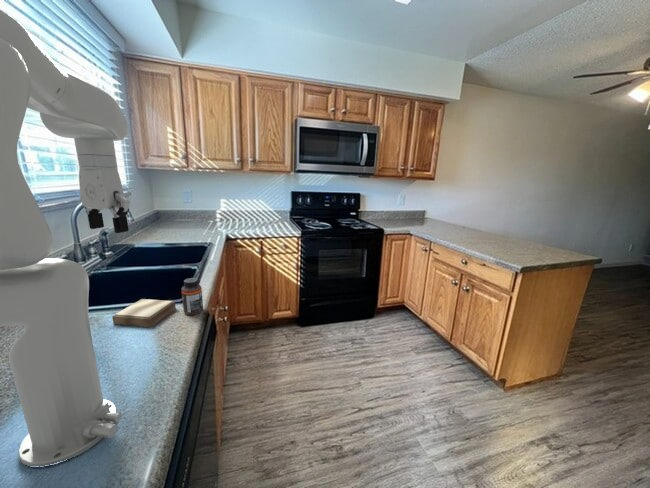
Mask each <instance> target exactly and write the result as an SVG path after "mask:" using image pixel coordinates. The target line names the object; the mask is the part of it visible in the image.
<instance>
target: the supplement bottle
mask: <svg viewBox="0 0 650 488" xmlns="http://www.w3.org/2000/svg"><path fill="white" fill-rule="evenodd" d="M202 290H203V289H202V286H201V285H200V284H199V280H198V278H195V277H190V278H186V279H184V280H183V286H182V287H181V300H182V309H183V313H184V314H185V315H188V316H194V315H197V314H200V313H202V312H203V310H204V303H203V302H204V300H203V293H202V292H203V291H202Z"/></svg>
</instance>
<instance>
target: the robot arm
mask: <svg viewBox="0 0 650 488" xmlns="http://www.w3.org/2000/svg"><path fill="white" fill-rule="evenodd" d="M27 109H30V110H32V111H35V112H38V113H39V116H40V120H41V122H42V124H43V125H44V126H45V128H46V129H47V130H48V131H50V132H51V133H52V134H54V135H56V136H59V137H61V138H67V139H73V140H74V145H75V146H74V147H75V150H76V151H75V152H76V157H77V162H78V166H79V167H78V169H79V170H78V181H79V183H78V184H79V192H80V193H79V195H80V196H79V197H80V200H81V203H82V204H81V205H82V206H83V208H84V209H85V214H87V220H88V221H87V222H88V226H89V229H91V230H95V229H102V228H104V227H105V224H104V218H103V213H102V212H101V210H102V211H107V210H109V211H110V212H111V214H112V215H113V217H112V219H111V220H112V225H113V230H114V231H113V232H114V233H115V234H120V233H126V232H129V223H128V218H127V217H128V216H129V211H130V204H131V202H130V201H131V200H129V199H128V198H127V197H125V196H124V195H125V194H124V188H123V185H122V180H121V178H120V177H121V176H120V173H119V171H118V170H119V169H118V163H117V157H116V156H117V155H116V148H115V141H116V142H117V141H118V142H120V141H123V140H124V139H125V138H126V136H127V134H128V133H129V131H128V130H129V126H128V121H127V118H126V116H125V113H124V111H123V110H122V108H121V107H120V105H119V104H118V102H117V101H116V100H115V98H114V97H113V96H112V95H111V94H110V93H108V92H107V91H105V90H104V89H102V88H100V87H98V86H96V85H95V84H92V83H90V82H88V81H86V80H84V79H82V78H80V77H78V76H76V75H73V74H71V73H70V72H68V71H65V70H63V69H61V68H60V66H59V65H58V64H57V63H56V62H55V61H54V60H53V59H52V58H51V56H50V55H49V54H48V53H47V52H46V51H45V49H44V48H43V47H42V46H41V45H40V44H39V43H38V42H37V40H36V39H35V38H34V37H33V36H32V34H31V33H29V31H28V30H27V29H26V28H25V27H24V26H23V25H22V24H21V23H20V22H19V21H18V20H17V19H15V18H14V17H12V15H10V14H8V12H5V11H4V10H2V9H0V327H13V326H23V327H24V331H23V332H22V333H21V334H20V336H18V338H17V339H16V340H15V341H14V343H13V344H12V346H11V348H10V349H9V353H8V362H9V366H10V370H11V373H12V376H13V379H14V380H13V381H14V383H15V384H14V385H15V388H16V391H17V395H18V399H19V403H20V405H21V406H20V407H21V409H22V414H23V417H24V420H25V423H26V427H27V428H26V429H27V430H28V433H27V434H26V436H25V437H24V438H23V439H22V441H21V443H20V445H19V446H18V447H19V448H18V451H17V452H18V453H17V454H18V459H19V460H21V461H20V462H22V463H23V465H24V464H25V465H27V466H26V467H28V466H39V467H40V466H45V465H50V464H54V463H57V462H60V461H64V460H66V459H70V458H72V457H74V458H76V457H77V455H78V456H80V455H81V454H83V453H85V452H86V451H88V450H90V449H91V448H92V447H94V446H96V445H97V444H98V443H99V442H100V441H101V440H102V439H103V438H105V439H111V438H113V437H114V436H115V435H116V433H117V431H118V430H119V428H118V427H119V426H118V424H115V423H118V422H120V421H121V419H122V416H123V414H122V412H118V411H117V408H116V405H115V404H114V403H113V402H112V401H111V400H107V399H104V396H103V392H102V391H103V389H102V385H101V380H100V376H99V370H98V363H97V359H96V353H95V348H94V343H93V337H92V332H91V326H90V325H91V324H90V318H89V317H90V315H89V305H88V302H89V299H90V298H89V296H90V295H89V293H90V292H89V291H90V279H89V273H88V271H86V269H85V267H84V266H82V265H81V263H78V262H76V261H73V260H70V259H66V258H56V257H55V258H54V257H53V258H52V257H49V255H50V254H51V252H52V250H53V249H54V240H53V239H54V238H53V234H52V232H51V229H50V226H49V224H48V222H47V220H46V218H45V216H44V214H43V212H42V210H41V208H40V206H39V204H38V202H37V200H36V198H35V196H34V194H33V192H32V190H31V188H30V186H29V185H28V184H29V183H28V182H27V180H26V178H25V176H24V174H23V171H22V169H21V166H20V163H19V159H18V158H19V156H18V146H19V145H18V144H19V143H18V142H19V139H20V134H21V130H22V127H23V123H24V120H25V116H26V113H27ZM48 257H49V258H48ZM75 456H76V457H75ZM72 459H73V458H72ZM70 460H71V459H70ZM22 463H21V464H22ZM25 465H24V466H25Z"/></svg>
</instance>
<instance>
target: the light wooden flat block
mask: <svg viewBox="0 0 650 488" xmlns="http://www.w3.org/2000/svg"><path fill="white" fill-rule="evenodd" d="M174 309H175V310H176V309H177V308H176V301H173V300H162V299H161V300H160V299H150V298H148V299H146V298H141V299H139V300H138V301H135V302H134V303H132V304H130V305H128V306H127V307H125V308H124V309H122V310H120V311H118V312H117V313H115V314H113V315H112V324H113V325H120V324H123V325H122V326H132V327H134V326H135V327H147V328H151V327H153V326H154V325H156V324H157V323H158V322H160V321H161V320H162V319H164V318H165V317H166V316H169V314H170V312H171V313H172V312H174V311H175V310H174Z"/></svg>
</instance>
